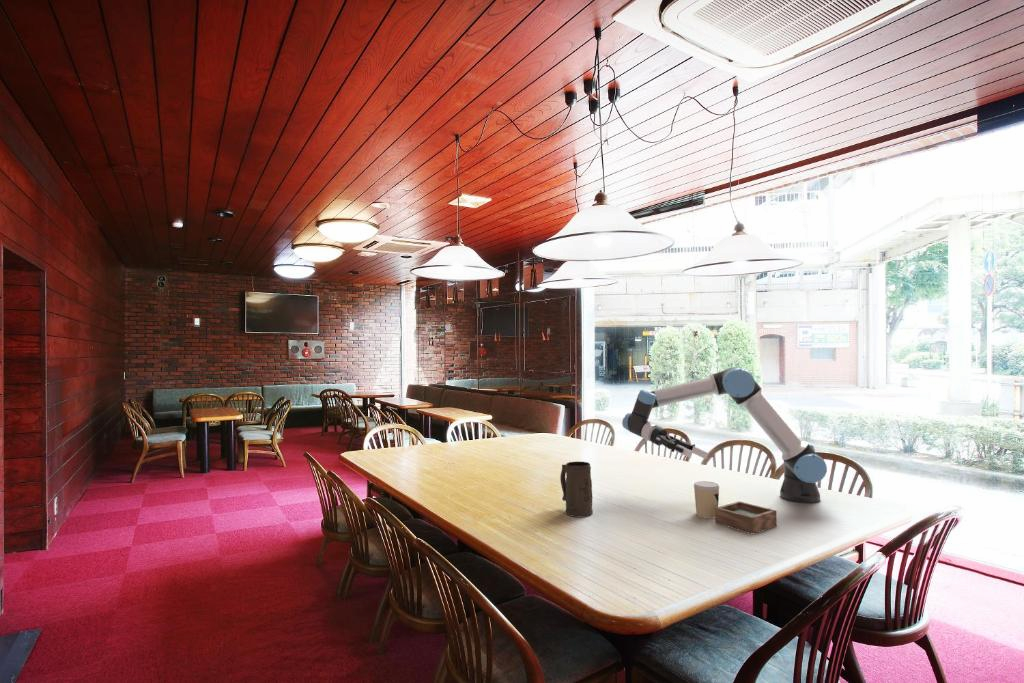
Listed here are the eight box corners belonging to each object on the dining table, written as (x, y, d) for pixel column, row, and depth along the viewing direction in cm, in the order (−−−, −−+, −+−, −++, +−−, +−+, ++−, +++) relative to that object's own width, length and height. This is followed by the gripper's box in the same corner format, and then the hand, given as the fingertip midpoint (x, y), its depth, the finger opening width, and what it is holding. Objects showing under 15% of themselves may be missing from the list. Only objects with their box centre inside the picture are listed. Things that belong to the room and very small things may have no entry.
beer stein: (599, 512, 208) (596, 461, 209) (583, 519, 200) (580, 466, 201) (568, 508, 218) (565, 459, 220) (552, 514, 210) (549, 463, 212)
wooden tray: (739, 515, 202) (739, 501, 202) (776, 525, 190) (776, 510, 190) (715, 522, 194) (715, 507, 194) (752, 534, 182) (752, 517, 182)
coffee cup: (722, 519, 198) (721, 487, 198) (696, 518, 200) (695, 486, 200) (717, 512, 207) (716, 481, 207) (692, 511, 209) (692, 480, 209)
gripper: (666, 443, 233) (709, 464, 218) (636, 440, 216) (680, 463, 201) (672, 428, 233) (716, 448, 217) (642, 423, 216) (687, 444, 200)
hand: (699, 455), depth 209 cm, fingers open, 13 cm apart
